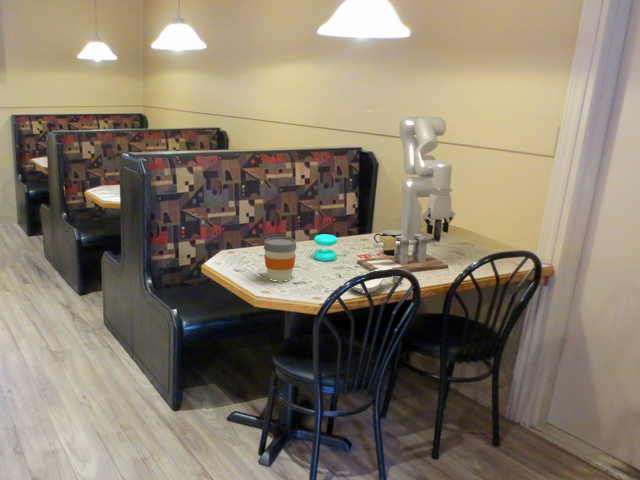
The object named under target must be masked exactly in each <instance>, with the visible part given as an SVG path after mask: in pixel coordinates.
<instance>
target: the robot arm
mask: <svg viewBox="0 0 640 480" xmlns="http://www.w3.org/2000/svg"><path fill="white" fill-rule="evenodd" d="M398 126H399V127H398V129H399V130H398V131H399V132H398V133H399V136H400V137H399V138H400V141H401V145H402V150H403V151H402V152H403V170H404V172H405V174H407V175H411V176H412V177H406V178H404V179H403V180H402V182H401V185H400V186H401V198H402V199H401V200H402V203H401V215H400V216H401V218H400V230H398V231H399V232H401V233H402V234H401V236H403V237H406V238H408V239H409V240H413V237H414V235H416V234H420V235H421V225H422V224H421V223H422V219H423V220H424V222H425V224H426V233H427V234H429V235H432V234H433V233H434V225H433V223H434V222H435V219H441V220H442V219H443V221H444V222H443V221H442V228H441V232H443V233H446V234H448V233H449V226H450V224H451V222H452V221H453V218H455V216H456V213H455V212H454V210H453V209H452V196H451V195H450V193H452V192H453V190H452V188H451V184H452V171H453V165H452V164H451V163H449V162H448V161H446V160H443V159H436V157H435V156H434V155H432V154H431V155H430V154H428V153H430V152H433V151H435V150H436V149H437V147H438V145H439V140H438V138H437V137H441V136H443V135H445V133H446V131H447V123H446V121H445V120H444V119H443V117H441V116H406V117H404V118H402V119H401V120H400V122H399V125H398ZM416 175H417V176H416ZM413 176H414V177H413ZM418 198H428V199H427V205H426V211H425V212H424V213H423V214H422V209H423V207H422V203H421V202H420V201H419V199H418Z"/></svg>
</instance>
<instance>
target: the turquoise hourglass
mask: <svg viewBox="0 0 640 480" xmlns="http://www.w3.org/2000/svg"><path fill="white" fill-rule="evenodd" d="M313 238H314V239H313V241H314V243H315V244H317V245H318V246H321V247H331V246H335V245H336V244H337V242H338V238H337V236H335V235H333V234H327V233H326V234H325V233H324V234H318V235H316V236H314V237H313ZM337 257H338V256H337V253H336V252H335V251H334V250H333V249H328V248H321V249H318V250H317V249H316V250H315V251H314V253H313V258H314V259H315V260H317V261H320V262H331V261H334V260H336V259H337Z"/></svg>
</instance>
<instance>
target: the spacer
mask: <svg viewBox="0 0 640 480" xmlns="http://www.w3.org/2000/svg"><path fill="white" fill-rule="evenodd" d="M378 239H379V240H378V242H379V243H384V247H382V248H381V249H383V248H384V250H395V249H396V238H394V237H392V236H380V235H379V238H378Z"/></svg>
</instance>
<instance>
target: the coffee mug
mask: <svg viewBox="0 0 640 480" xmlns="http://www.w3.org/2000/svg"><path fill="white" fill-rule="evenodd" d="M399 231H400V230H393V229H386V230H383V231H382V232H381V233H376V234H374V236H373V239H374V241H375V243H379V241H378V240H377V239H376V236H379V237H380V236H392V237H394V238H395V236H401V234H402V233H401V232H399ZM382 250H383V255H385V256H387V257H393V256H394V252H395V250H384V248H382Z"/></svg>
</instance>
